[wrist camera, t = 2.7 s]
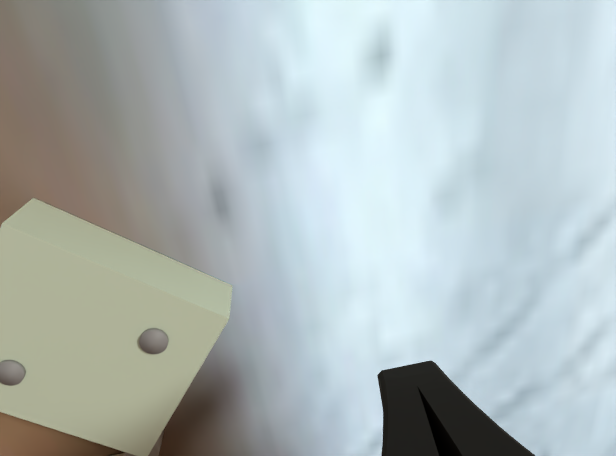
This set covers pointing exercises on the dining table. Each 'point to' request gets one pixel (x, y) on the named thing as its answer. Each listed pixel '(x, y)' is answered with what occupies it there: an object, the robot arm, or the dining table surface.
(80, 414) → the cream toy brick
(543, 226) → the dining table surface
